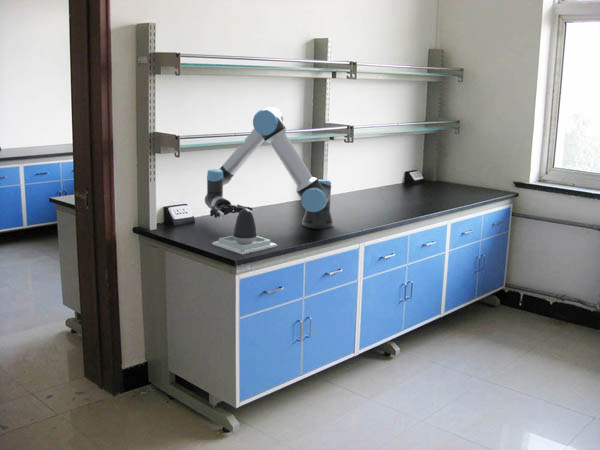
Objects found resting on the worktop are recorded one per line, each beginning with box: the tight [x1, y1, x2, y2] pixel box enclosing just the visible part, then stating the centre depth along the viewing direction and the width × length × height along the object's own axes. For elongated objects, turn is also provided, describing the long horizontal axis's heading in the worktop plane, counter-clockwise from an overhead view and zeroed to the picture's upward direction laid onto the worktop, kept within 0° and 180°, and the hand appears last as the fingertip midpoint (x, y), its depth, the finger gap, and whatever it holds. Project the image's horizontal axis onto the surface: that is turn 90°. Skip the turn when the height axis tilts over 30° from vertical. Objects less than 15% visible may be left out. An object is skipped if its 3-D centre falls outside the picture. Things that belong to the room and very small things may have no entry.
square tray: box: [211, 235, 278, 255], centre depth 289 cm, size 20×20×4 cm
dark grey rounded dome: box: [232, 209, 258, 245], centre depth 287 cm, size 10×10×15 cm
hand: (237, 215), depth 295 cm, fingers open, 13 cm apart
